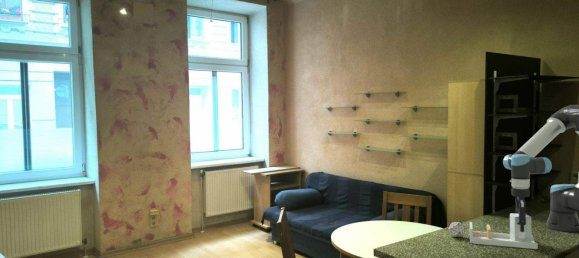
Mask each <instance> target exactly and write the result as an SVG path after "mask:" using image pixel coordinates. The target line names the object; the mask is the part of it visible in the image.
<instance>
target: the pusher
mask: <svg viewBox="0 0 579 258" xmlns="http://www.w3.org/2000/svg"><path fill="white" fill-rule="evenodd" d="M490 225H491V224H486V232H487V239H491V232H492V229H491V226H490Z"/></svg>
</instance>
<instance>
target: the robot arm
mask: <svg viewBox="0 0 579 258" xmlns="http://www.w3.org/2000/svg"><path fill="white" fill-rule="evenodd" d="M572 128H575V129H574V130H575V133H576V134H578V135H579V104H570V105H567V106H564V107H562V108H561V109H559V110H558V111H556V112H555V113H553V114H551V116H550V117H549V118H548V119H547V120H546V123H545V124H544V125H543V127H540V129H539V130H538V131H537V132H536V133H535V134H533V135H532V137H531V138H530V139H528V140H527V141H526V142H525V143H524V144H523V145H522V146H521V147H520V148H519V149H518V150H517V151H516V152H515V153H513V154H507V155H505V156H504V158H503V160H502V163H503V167H504V168H505V169H507V170H511V171H510V173H511V174H510V175H511V179H510V180H509V182H510V183H511V189H510V191H511V196H512V197H515V200H514V201H515V213H516V214H519V223H517V224H518V237H519V238H521V239H525V225H526V214H527V208H526V206H527V201H526V199H525V198H529V197H530V196H531V195H530V193H531V192H530V191H531V189H530V187H531V185H530V184H531V182H530V181H531V180H530V179H531V175H537V174H539V175H540V174H548V173H550V171H551V170H552V167H553V166H552V161H551V160H550V159H549V158H548V157H541V156H540V157H536V156H537V155H538V154H539V153H540V152H541V151H542V150H543V149H544V148H545V147H546V146H547V145H549V143H550V142H552V141H553V140H554V139H555V138H556V137H557V136H559V134H560V133H564V132H565V131H566V130H568V129H572ZM549 193H550V195H549V197H550V211H549V216H548V218H547V220H546V227H547V228H548V229H552V230H554V231H560V232H569V233H570V232H571V233H572V232H579V217H578V213H579V173H578V179H577V184H574V183H573V184H572V183H570V184H569V183H567V184H566V183H562V184H553V185H551V187H550V191H549ZM521 221H524V222H521Z"/></svg>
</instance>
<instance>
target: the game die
mask: <svg viewBox="0 0 579 258" xmlns="http://www.w3.org/2000/svg"><path fill="white" fill-rule="evenodd" d="M449 222H450V224H449V227H448V228H447V229H446V231H448V232H449V234H451V238H452V239H453V238H456V237H458V238H459V237H461V238H462V239H463V238H464V236H463V235H464V233H465V231H466V230H467V229H468V228H467V227H464V225H463V224H462V221H461V220H459V221H452V220H450V221H449Z"/></svg>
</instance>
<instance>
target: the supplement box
mask: <svg viewBox="0 0 579 258" xmlns="http://www.w3.org/2000/svg"><path fill="white" fill-rule="evenodd" d="M521 222H524V221H521ZM517 223H519V214H516V212H515V213H509V234H510V239H511V240H512V241H520V242H531V236H532V216H530V215H529V214H527V213H526V225H525V239H521V238H519V237H518V224H517Z"/></svg>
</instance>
